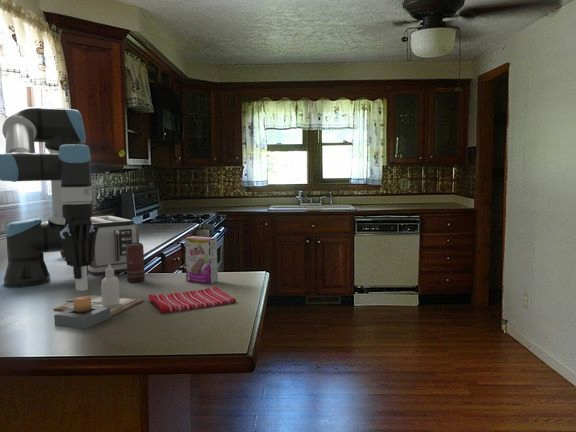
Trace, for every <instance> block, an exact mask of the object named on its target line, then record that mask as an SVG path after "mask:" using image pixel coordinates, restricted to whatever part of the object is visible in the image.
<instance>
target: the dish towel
mask: <svg viewBox="0 0 576 432" xmlns="http://www.w3.org/2000/svg"><path fill="white" fill-rule="evenodd" d="M147 297H148V299H149V301H150V303H151V304H152V305H153V306H154V305H155V306H154V307H155V308H156V310H158V312H159V314H161V313H162V314H163V313H164V314H170V313H177V312H183V311H184V312H185V311H191V310H198V308H199V309H204V308H205V307H206V308H213V307H212V306H214V307H219V306H224V304H226V305H231V304H235V303H236V301H237V299H236V298H234V297H232V296H231V295H230V294H227V293H226V292H224V291H222V290H221V289H220V288H218V286H211V287H207V288H203V289H198V290H197V289H194V290H191V291H179V292H171V293H167V294H166V293H165V294H148V296H147ZM230 303H231V304H230ZM218 305H219V306H218ZM206 308H205V309H206Z"/></svg>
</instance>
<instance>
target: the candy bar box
mask: <svg viewBox="0 0 576 432" xmlns="http://www.w3.org/2000/svg"><path fill="white" fill-rule="evenodd" d="M184 246H185V248H184V249H185V252H184V253H185V280H186V282H190V283H191V282H192V283H198V284H199V283H200V284H207V285H213V284H214V283H217V282H219V280H218V279H219V277H218V276H219V275H218V274H219V273H218V271H219V269H218V238H217V237H208V236H207V237H206V236H197V235H191V236H186V237H185V238H184Z"/></svg>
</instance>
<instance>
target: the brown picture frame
mask: <svg viewBox="0 0 576 432" xmlns="http://www.w3.org/2000/svg"><path fill="white" fill-rule="evenodd" d="M88 296H90V297H91V305H92V306H102V307H110V311H111V317H112V316H114V315H116V314H119V313H121V312H123V311H125V310H128V309H130V308H132V307H134V306H136V305H139V304H141V303H144V302H145V300H144V299H142V298H130V297H120V302H119V303H117V304H115V305H112V306H103V305H102V295H97V294H90V295H88ZM73 299H74V298H70V299H69V298H68V299H67V300H66V302H67V303H64V304H62V305H58V306H56V307H54V308H53V311H54V312H55V311H56V312H62V311H65V310H68V309H70V308H73V307H74V300H73Z"/></svg>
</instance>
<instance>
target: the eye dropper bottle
mask: <svg viewBox="0 0 576 432" xmlns="http://www.w3.org/2000/svg"><path fill="white" fill-rule="evenodd" d="M104 275H105V277H104V278H103V279H102V280H101V282H100V288H101V289H100V292H101V294H100V296H102V305H103V306H112V305H115V304H117V303H119V302H120V281H119V278H118V277H117V276H115V273H114V269H112V268H111V265H108V268H107V269H106V270H105V274H104Z"/></svg>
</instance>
